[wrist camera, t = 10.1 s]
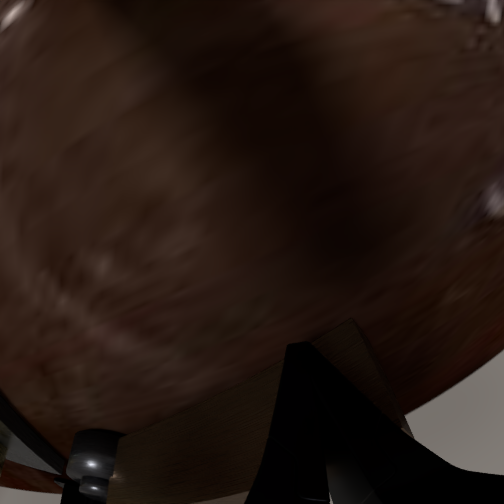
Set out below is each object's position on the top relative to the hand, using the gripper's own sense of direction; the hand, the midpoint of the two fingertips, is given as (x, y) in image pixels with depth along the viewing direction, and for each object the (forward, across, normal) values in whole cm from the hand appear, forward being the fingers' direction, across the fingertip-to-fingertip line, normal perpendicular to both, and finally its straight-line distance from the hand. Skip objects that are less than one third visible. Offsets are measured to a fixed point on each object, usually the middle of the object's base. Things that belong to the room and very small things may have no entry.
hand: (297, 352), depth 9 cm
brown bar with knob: (+2, +5, +7) cm, 9 cm away
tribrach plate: (+3, +24, +10) cm, 26 cm away
